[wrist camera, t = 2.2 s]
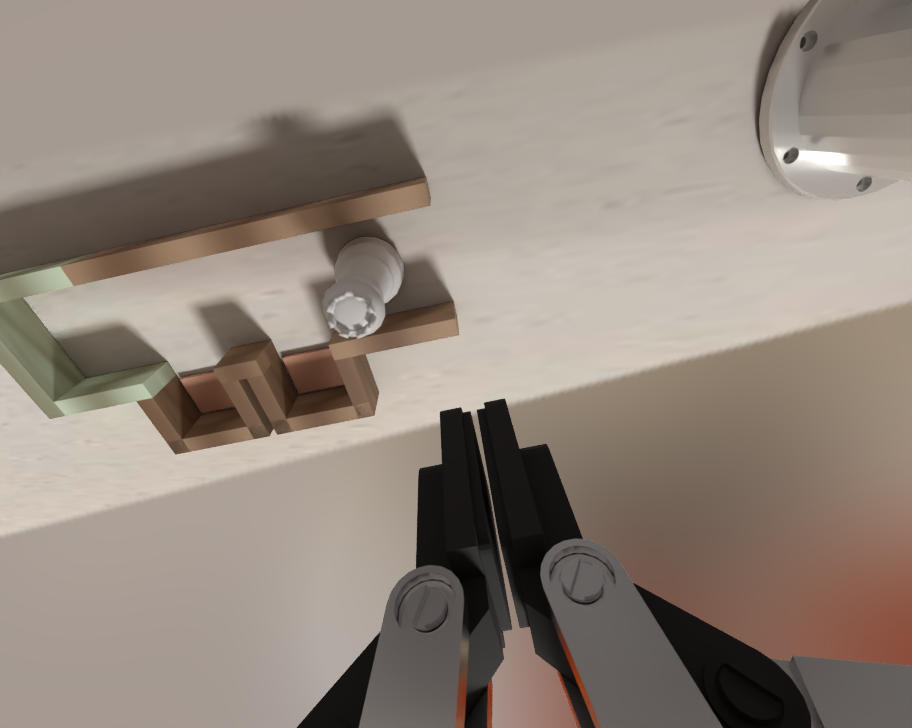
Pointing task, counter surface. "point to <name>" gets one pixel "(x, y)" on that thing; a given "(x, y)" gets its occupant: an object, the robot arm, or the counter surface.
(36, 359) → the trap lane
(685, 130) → the counter surface
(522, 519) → the robot arm
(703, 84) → the counter surface
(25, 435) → the counter surface
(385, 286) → the rook chess piece
